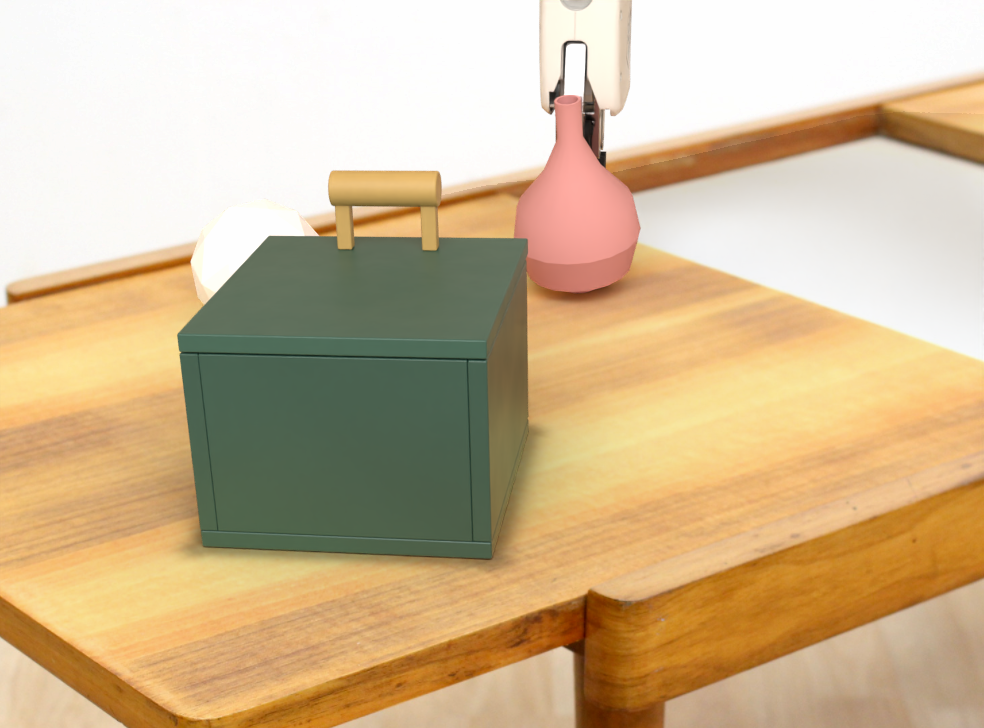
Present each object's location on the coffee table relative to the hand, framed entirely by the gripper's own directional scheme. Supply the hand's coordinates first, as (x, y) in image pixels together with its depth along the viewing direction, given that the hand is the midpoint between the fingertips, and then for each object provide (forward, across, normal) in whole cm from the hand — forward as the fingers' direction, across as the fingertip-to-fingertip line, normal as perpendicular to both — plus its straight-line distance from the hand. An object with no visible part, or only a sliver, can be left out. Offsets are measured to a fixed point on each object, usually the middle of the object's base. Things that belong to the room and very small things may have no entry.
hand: (578, 215), depth 99 cm
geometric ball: (+4, -14, +17) cm, 22 cm away
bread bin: (+3, -35, +6) cm, 35 cm away
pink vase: (+3, -5, -1) cm, 6 cm away
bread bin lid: (-6, -34, +6) cm, 35 cm away
